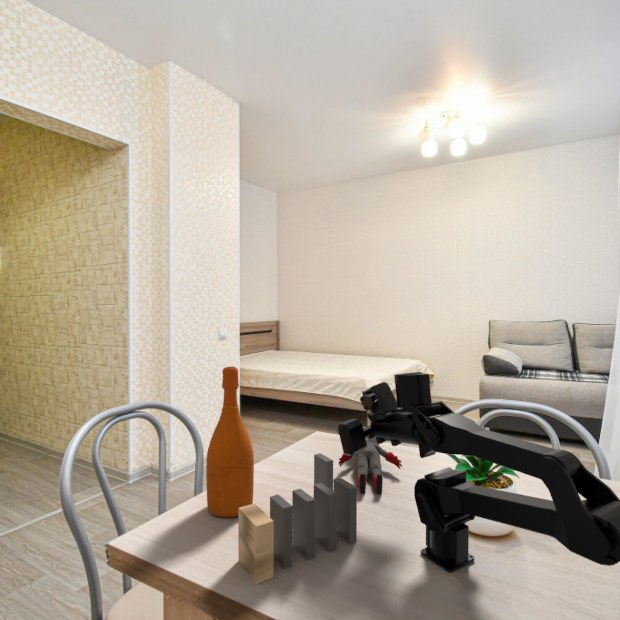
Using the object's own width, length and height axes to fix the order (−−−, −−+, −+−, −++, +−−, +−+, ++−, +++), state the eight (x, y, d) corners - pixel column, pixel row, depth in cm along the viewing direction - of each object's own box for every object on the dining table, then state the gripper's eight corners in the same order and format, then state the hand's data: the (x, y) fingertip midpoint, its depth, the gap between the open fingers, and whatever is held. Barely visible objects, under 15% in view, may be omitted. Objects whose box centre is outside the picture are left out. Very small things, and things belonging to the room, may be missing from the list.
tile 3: (336, 549, 75) (336, 493, 75) (329, 552, 74) (329, 495, 74) (320, 536, 79) (321, 482, 79) (313, 538, 78) (313, 484, 78)
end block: (273, 577, 67) (273, 521, 67) (256, 584, 66) (256, 526, 66) (254, 555, 73) (254, 503, 73) (238, 560, 72) (238, 507, 71)
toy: (337, 474, 97) (339, 416, 126) (337, 511, 99) (339, 445, 128) (408, 477, 95) (393, 417, 125) (406, 514, 97) (392, 447, 127)
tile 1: (333, 506, 91) (333, 460, 90) (326, 508, 90) (327, 461, 90) (320, 497, 95) (320, 453, 95) (314, 499, 94) (314, 454, 94)
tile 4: (315, 557, 73) (315, 499, 72) (307, 560, 72) (307, 501, 72) (300, 543, 77) (300, 488, 77) (292, 545, 76) (292, 490, 76)
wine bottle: (263, 506, 91) (263, 366, 90) (227, 525, 83) (227, 372, 82) (233, 493, 97) (233, 362, 96) (196, 509, 89) (196, 367, 89)
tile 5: (292, 565, 70) (292, 506, 70) (283, 569, 69) (283, 508, 69) (278, 550, 74) (278, 494, 74) (269, 553, 74) (269, 496, 73)
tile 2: (356, 541, 77) (356, 487, 77) (349, 544, 77) (349, 489, 76) (340, 529, 82) (340, 477, 82) (333, 531, 81) (333, 479, 81)
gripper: (426, 373, 86) (374, 375, 99) (358, 400, 76) (310, 398, 88) (439, 427, 86) (385, 422, 99) (373, 462, 75) (322, 451, 88)
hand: (352, 422), depth 94 cm, fingers open, 9 cm apart
